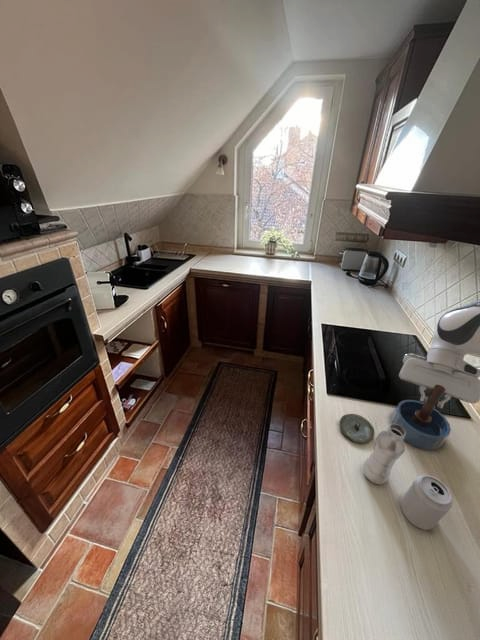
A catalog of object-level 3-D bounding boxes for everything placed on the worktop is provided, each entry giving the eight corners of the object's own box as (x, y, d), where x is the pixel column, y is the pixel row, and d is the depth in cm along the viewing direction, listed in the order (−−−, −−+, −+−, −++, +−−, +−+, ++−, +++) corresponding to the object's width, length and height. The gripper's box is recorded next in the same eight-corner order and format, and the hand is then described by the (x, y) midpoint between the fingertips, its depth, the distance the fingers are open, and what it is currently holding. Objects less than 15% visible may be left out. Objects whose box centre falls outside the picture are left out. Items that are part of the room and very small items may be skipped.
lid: (372, 430, 86) (376, 417, 85) (373, 449, 77) (377, 436, 76) (339, 419, 90) (342, 406, 89) (336, 436, 81) (340, 423, 80)
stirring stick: (424, 416, 84) (444, 383, 76) (431, 428, 80) (453, 394, 72) (409, 414, 85) (428, 381, 77) (415, 425, 81) (435, 392, 73)
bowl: (428, 415, 90) (436, 403, 87) (450, 454, 78) (460, 441, 74) (385, 409, 92) (390, 396, 89) (399, 446, 79) (407, 433, 76)
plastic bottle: (357, 475, 72) (378, 430, 61) (367, 458, 76) (388, 414, 66) (380, 493, 68) (407, 448, 58) (389, 475, 72) (416, 430, 62)
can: (440, 523, 62) (463, 499, 56) (419, 537, 60) (441, 513, 54) (412, 492, 68) (431, 467, 62) (392, 503, 66) (409, 478, 60)
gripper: (407, 349, 82) (395, 390, 79) (489, 373, 72) (477, 420, 70) (403, 353, 87) (391, 391, 85) (478, 376, 78) (467, 419, 76)
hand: (431, 404), depth 78 cm, fingers closed on stirring stick, 2 cm apart
